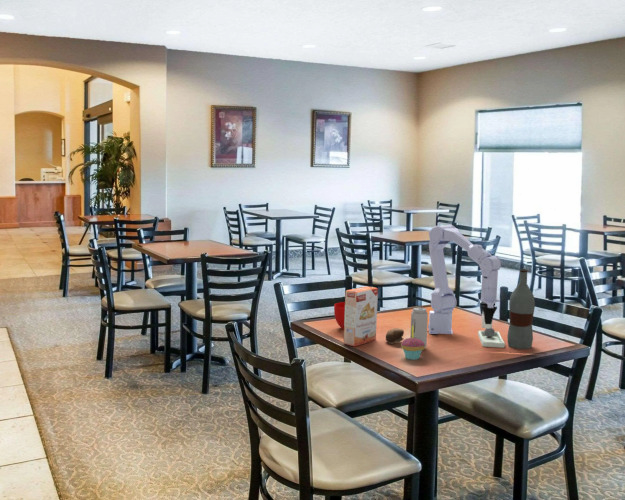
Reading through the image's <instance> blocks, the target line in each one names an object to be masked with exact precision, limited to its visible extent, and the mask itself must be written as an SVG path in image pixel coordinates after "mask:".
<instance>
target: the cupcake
mask: <svg viewBox="0 0 625 500" xmlns="http://www.w3.org/2000/svg"><path fill="white" fill-rule="evenodd" d="M400 347H401V349H402V350H403V353H404V356H405V358H406V359H408V360H413V361H414V360H415V361H416V360H419V359H420V356H421V353H422V351H425V349H426V347H425V343H424V342H423V341H422V340H420V339H417V338H414V326H413V323H412V338H410V337H407V338H404V339H403V340H402V341H401V344H400Z"/></svg>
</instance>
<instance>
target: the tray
mask: <svg viewBox="0 0 625 500" xmlns="http://www.w3.org/2000/svg"><path fill="white" fill-rule="evenodd" d="M484 331H485V330H478V331H477V336H478V338H479V341H480V344H481V346H482V347H483V348H485V347H486V348H487V347H488V348H502V349H503V348H505V345H506V343H505V341H504V340H503V336H501V334H500V331H495V334H494V336H493V337H487V336H486V335H485V333H484Z"/></svg>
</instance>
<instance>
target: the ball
mask: <svg viewBox="0 0 625 500" xmlns="http://www.w3.org/2000/svg"><path fill="white" fill-rule="evenodd" d="M483 331H484V333H485V335H486V336H487V337H493V336H494V334H495V332H496V331H495V329H494V328H493V327H492V328H484V330H483Z"/></svg>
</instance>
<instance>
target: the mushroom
mask: <svg viewBox="0 0 625 500" xmlns="http://www.w3.org/2000/svg"><path fill="white" fill-rule="evenodd" d="M404 333H405V331H404V330H403V328H400V327H395V328H391V329H389V330H388V331H386V334H385V341H386V342H387V343H388V344H390V345H391V344H396V343H397V344H398V343H400V342H403V341H404V340H405V338H403V336H404Z"/></svg>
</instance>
